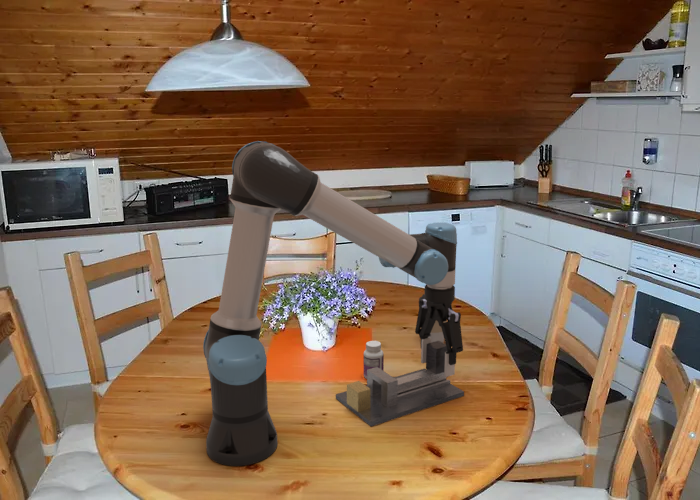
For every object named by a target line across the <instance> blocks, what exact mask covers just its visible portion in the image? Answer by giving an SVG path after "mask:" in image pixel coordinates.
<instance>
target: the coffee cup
mask: <svg viewBox="0 0 700 500" xmlns="http://www.w3.org/2000/svg"><path fill="white" fill-rule="evenodd" d="M424 294H425V293H424ZM424 294H422V296H421V297H419V298H418V301H419V300H423V299H425V298H424ZM445 322H447V321H444V322H443V323H445ZM420 329H421V328H420ZM430 334H431V336H429V337H430V338H431V342H435V341H441V342H443V343H444V344H445V339H444V336H443V332H442V328H441V327H440V326H439V323H438V321H435V324H434V326H433V328H432V331H431V333H430ZM429 337H428V338H429Z"/></svg>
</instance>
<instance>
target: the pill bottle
mask: <svg viewBox="0 0 700 500" xmlns="http://www.w3.org/2000/svg"><path fill="white" fill-rule="evenodd" d="M384 357H385V355H384V350H382V344H381V342H380V341H378V340H370V341H367V342H366V343H365V350H364V351H363V377H364V379H366V380H367V370H368V369H371V368H375V367H378V368H380V369H381V370H383V371H384V359H385V358H384ZM384 372H385V371H384Z"/></svg>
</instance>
